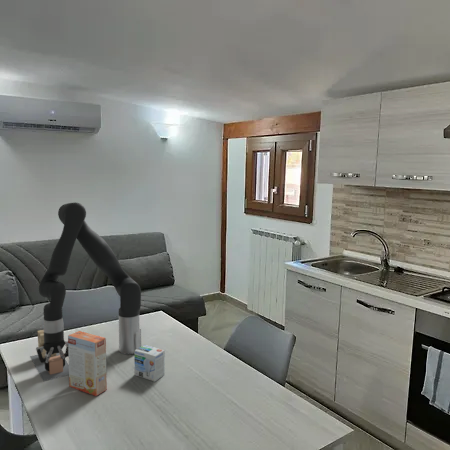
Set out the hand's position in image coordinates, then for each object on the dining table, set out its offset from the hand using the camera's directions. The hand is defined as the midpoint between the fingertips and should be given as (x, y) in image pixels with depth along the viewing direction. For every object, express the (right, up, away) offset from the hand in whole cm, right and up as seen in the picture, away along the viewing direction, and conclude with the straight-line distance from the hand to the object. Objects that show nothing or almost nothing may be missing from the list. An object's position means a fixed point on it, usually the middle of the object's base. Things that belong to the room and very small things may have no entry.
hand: (55, 368), depth 176 cm
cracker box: (+17, -4, -12) cm, 22 cm away
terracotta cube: (0, -1, 0) cm, 1 cm away
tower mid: (-8, +7, +10) cm, 14 cm away
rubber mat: (-4, -1, +5) cm, 7 cm away
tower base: (-8, +1, +11) cm, 13 cm away
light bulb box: (+39, -3, -1) cm, 39 cm away
